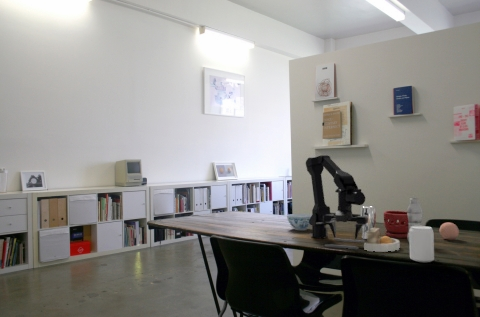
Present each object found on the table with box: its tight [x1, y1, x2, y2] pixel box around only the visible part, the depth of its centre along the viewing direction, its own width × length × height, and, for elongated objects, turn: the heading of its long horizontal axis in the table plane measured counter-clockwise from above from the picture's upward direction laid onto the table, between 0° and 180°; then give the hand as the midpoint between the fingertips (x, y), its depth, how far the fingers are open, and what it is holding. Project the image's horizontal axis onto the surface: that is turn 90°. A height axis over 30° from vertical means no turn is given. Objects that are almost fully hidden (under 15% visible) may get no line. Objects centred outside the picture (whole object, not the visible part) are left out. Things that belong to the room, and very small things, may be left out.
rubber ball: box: [379, 235, 392, 244], centre depth 167 cm, size 5×5×5 cm
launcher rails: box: [324, 238, 367, 250], centre depth 175 cm, size 14×16×1 cm
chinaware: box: [286, 213, 312, 231], centre depth 220 cm, size 15×15×8 cm
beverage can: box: [408, 225, 435, 263], centre depth 145 cm, size 8×8×12 cm
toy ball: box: [439, 222, 460, 241], centre depth 184 cm, size 8×8×8 cm
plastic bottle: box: [406, 197, 423, 242], centre depth 175 cm, size 6×7×20 cm
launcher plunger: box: [366, 227, 381, 244], centre depth 169 cm, size 3×12×7 cm, turn 151°
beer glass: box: [360, 205, 377, 240], centre depth 190 cm, size 7×7×15 cm
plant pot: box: [383, 210, 409, 239], centre depth 194 cm, size 13×13×12 cm
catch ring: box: [363, 236, 401, 253], centre depth 167 cm, size 12×19×3 cm, turn 151°
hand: (345, 238), depth 175 cm, fingers open, 9 cm apart
